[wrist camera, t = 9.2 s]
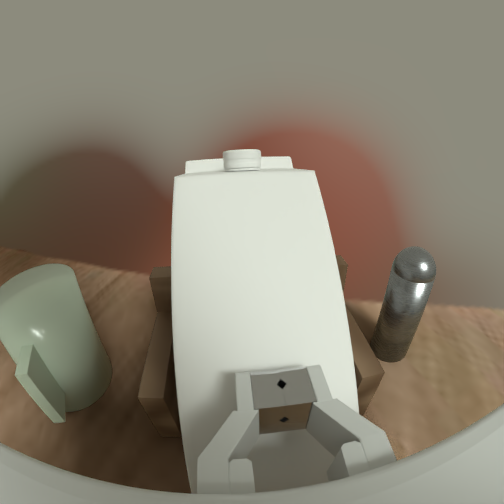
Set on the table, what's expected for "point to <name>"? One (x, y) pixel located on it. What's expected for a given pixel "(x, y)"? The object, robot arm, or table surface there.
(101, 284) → the table surface
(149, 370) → the walnut holder
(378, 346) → the grey shaker
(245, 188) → the milk carton
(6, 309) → the sage mug
